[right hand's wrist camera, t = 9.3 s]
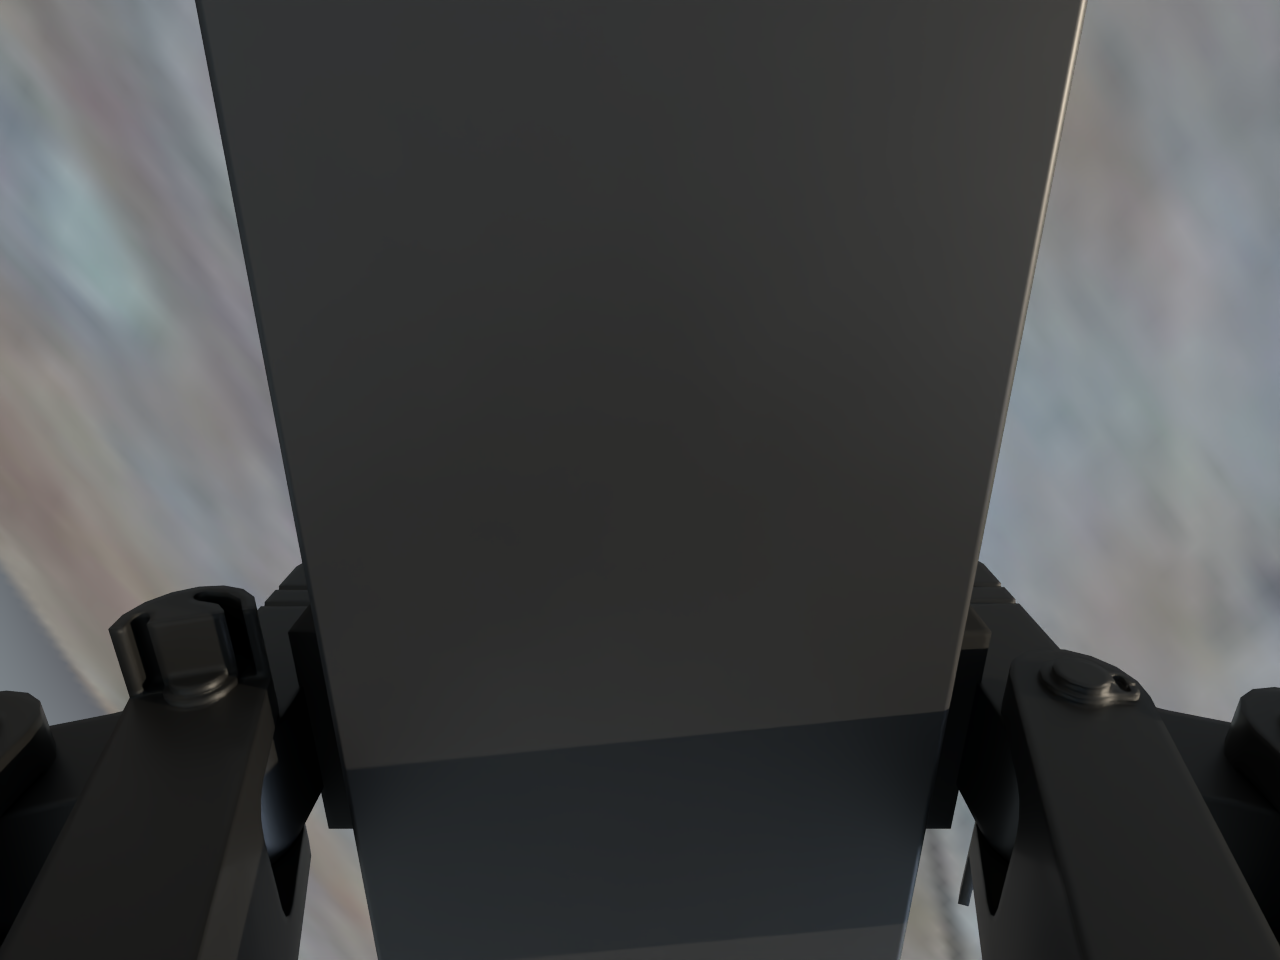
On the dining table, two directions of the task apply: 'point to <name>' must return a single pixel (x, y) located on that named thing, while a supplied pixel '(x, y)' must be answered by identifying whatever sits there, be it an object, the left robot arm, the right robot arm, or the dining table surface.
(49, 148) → the dining table surface
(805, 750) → the bar
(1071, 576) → the dining table surface
